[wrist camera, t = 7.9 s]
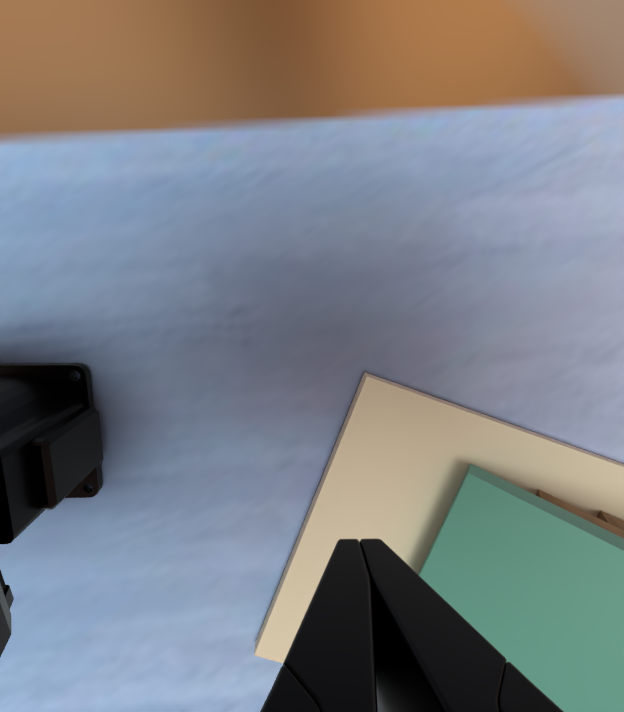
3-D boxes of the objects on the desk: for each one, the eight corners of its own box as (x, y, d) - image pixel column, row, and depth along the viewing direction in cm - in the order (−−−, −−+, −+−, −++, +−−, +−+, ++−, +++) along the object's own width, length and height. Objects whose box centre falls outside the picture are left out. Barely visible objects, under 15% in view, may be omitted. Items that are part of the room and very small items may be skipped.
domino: (375, 667, 21) (624, 847, 17) (468, 473, 19) (775, 626, 15) (383, 646, 22) (614, 807, 18) (470, 463, 20) (751, 601, 16)
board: (255, 641, 23) (254, 655, 22) (364, 372, 20) (367, 376, 19) (639, 749, 25) (650, 765, 25) (788, 522, 22) (805, 531, 22)
